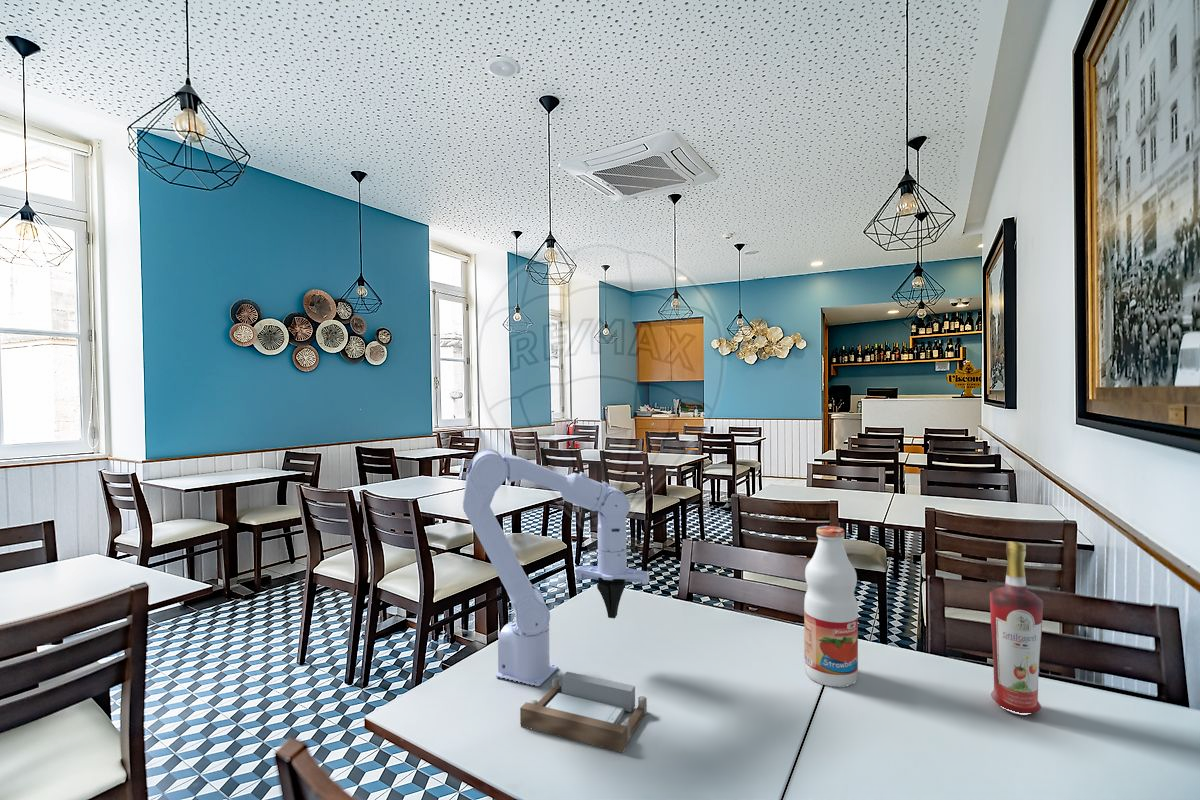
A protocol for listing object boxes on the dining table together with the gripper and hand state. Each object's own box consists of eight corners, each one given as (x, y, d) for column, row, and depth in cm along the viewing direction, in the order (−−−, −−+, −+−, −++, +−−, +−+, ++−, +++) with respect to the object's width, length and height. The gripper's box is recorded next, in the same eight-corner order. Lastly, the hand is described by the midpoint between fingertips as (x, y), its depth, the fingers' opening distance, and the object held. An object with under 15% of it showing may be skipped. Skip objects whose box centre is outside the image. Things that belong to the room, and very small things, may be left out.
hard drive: (535, 716, 94) (606, 733, 89) (558, 691, 101) (624, 706, 96) (536, 726, 94) (606, 743, 89) (558, 700, 101) (624, 715, 96)
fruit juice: (830, 660, 114) (830, 520, 114) (869, 682, 106) (869, 531, 105) (793, 669, 111) (793, 525, 110) (830, 693, 102) (830, 537, 101)
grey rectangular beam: (562, 696, 101) (561, 676, 101) (567, 690, 103) (567, 671, 103) (631, 712, 96) (631, 691, 96) (635, 706, 98) (635, 685, 98)
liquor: (1036, 702, 98) (1036, 540, 98) (1048, 724, 92) (1049, 551, 91) (985, 693, 101) (985, 536, 101) (993, 714, 95) (994, 546, 94)
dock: (520, 726, 93) (520, 707, 93) (554, 690, 104) (554, 674, 104) (622, 752, 86) (622, 732, 86) (647, 711, 97) (647, 694, 96)
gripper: (571, 551, 112) (571, 620, 112) (644, 556, 108) (644, 628, 108) (581, 542, 118) (582, 607, 119) (650, 546, 114) (651, 613, 115)
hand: (612, 616), depth 114 cm, fingers closed
